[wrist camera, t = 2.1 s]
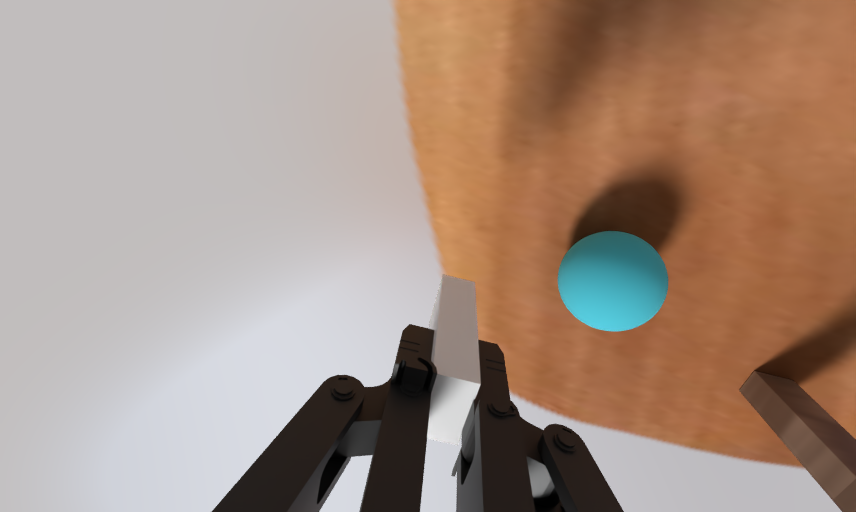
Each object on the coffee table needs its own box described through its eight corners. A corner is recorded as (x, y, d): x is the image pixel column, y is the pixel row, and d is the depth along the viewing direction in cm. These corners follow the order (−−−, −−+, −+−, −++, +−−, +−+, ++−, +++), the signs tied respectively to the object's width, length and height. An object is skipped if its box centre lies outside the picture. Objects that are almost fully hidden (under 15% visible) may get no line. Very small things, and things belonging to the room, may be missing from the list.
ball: (569, 207, 25) (597, 244, 20) (659, 229, 25) (712, 273, 20) (537, 286, 28) (554, 338, 22) (619, 306, 28) (656, 363, 22)
